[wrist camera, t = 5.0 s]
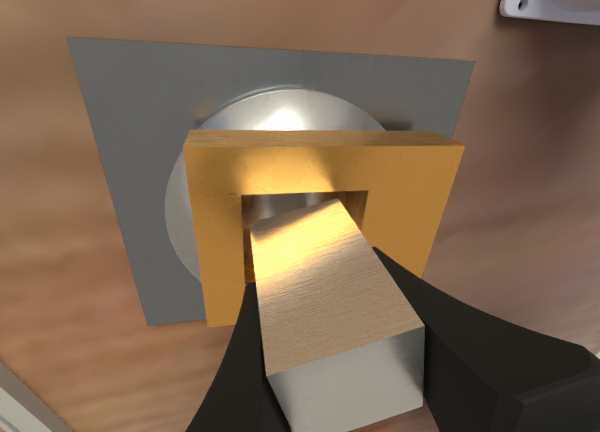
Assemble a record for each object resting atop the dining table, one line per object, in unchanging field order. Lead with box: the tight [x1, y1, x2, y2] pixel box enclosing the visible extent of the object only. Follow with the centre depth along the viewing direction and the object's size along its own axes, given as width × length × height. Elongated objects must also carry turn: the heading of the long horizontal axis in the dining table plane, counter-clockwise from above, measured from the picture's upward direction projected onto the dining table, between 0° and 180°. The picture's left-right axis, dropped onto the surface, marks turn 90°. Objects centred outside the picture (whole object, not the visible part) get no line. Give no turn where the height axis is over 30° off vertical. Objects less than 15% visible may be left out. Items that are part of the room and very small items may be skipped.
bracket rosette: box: [66, 37, 475, 328], centre depth 16 cm, size 18×16×4 cm
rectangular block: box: [249, 198, 425, 432], centre depth 11 cm, size 4×4×7 cm
